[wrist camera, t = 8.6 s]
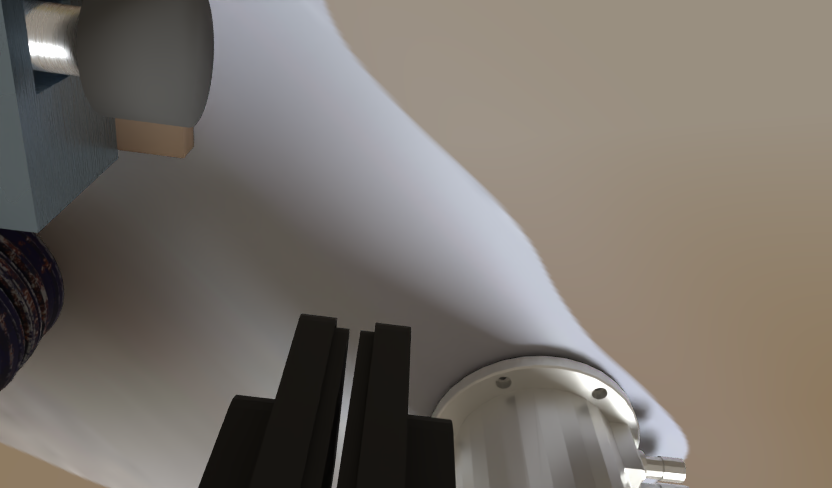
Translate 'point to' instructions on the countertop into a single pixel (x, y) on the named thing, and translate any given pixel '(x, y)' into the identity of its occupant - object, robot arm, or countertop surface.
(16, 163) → the bearing blocks
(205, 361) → the countertop surface
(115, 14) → the shaft
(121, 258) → the countertop surface
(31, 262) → the storage jar
